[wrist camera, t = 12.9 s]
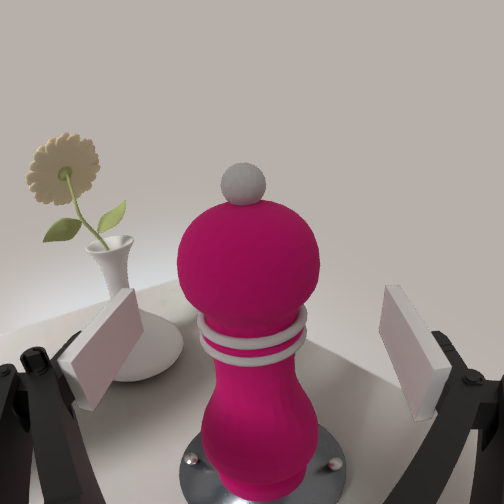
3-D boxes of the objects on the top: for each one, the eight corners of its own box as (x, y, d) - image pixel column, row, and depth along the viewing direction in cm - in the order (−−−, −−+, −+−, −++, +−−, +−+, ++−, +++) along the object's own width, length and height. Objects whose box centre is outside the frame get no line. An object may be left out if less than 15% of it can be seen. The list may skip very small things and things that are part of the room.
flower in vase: (170, 323, 41) (143, 124, 33) (200, 373, 31) (166, 111, 23) (77, 346, 35) (31, 144, 27) (81, 405, 26) (6, 139, 17)
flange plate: (166, 529, 15) (159, 521, 14) (200, 414, 26) (197, 402, 25) (348, 539, 13) (353, 532, 13) (337, 417, 25) (339, 405, 24)
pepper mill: (314, 508, 15) (354, 170, 9) (203, 503, 16) (113, 183, 9) (312, 431, 22) (323, 155, 15) (220, 429, 23) (181, 162, 16)
